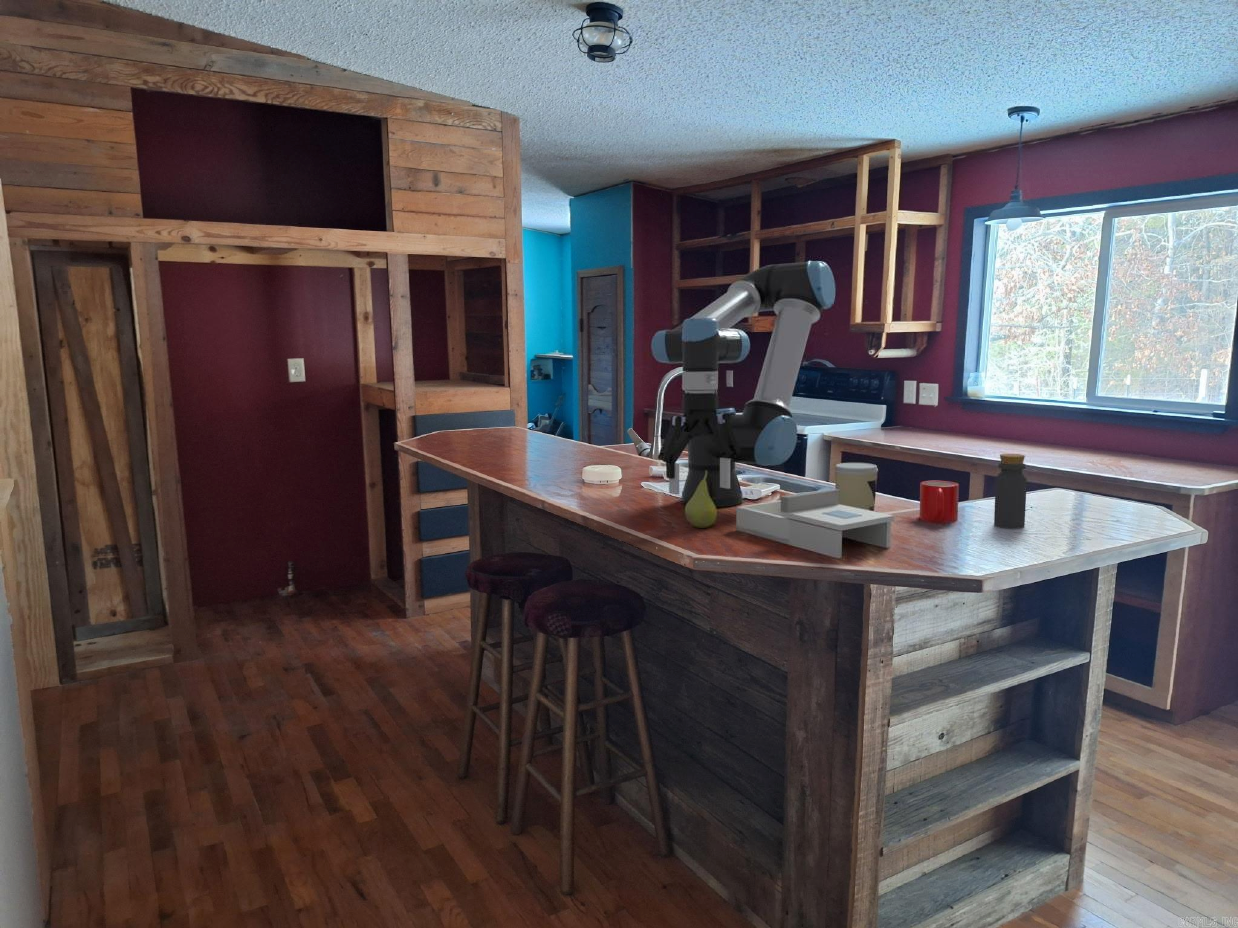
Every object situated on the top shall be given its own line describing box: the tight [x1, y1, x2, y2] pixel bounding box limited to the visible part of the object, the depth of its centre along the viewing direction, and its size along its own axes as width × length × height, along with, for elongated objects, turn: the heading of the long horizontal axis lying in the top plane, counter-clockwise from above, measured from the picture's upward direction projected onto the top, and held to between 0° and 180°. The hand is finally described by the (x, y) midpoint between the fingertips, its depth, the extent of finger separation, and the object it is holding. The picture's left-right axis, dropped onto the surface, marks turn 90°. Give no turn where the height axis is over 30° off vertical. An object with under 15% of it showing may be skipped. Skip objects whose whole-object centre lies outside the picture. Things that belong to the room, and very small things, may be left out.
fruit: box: [684, 470, 718, 529], centre depth 181 cm, size 7×8×12 cm
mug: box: [919, 480, 960, 523], centre depth 182 cm, size 8×12×8 cm, turn 164°
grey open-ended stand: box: [736, 499, 892, 559], centre depth 169 cm, size 29×14×5 cm, turn 31°
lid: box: [780, 488, 895, 531], centre depth 162 cm, size 16×14×4 cm
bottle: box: [993, 453, 1028, 529], centre depth 175 cm, size 6×6×15 cm
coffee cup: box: [833, 462, 879, 512], centre depth 185 cm, size 9×9×12 cm
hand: (700, 490), depth 180 cm, fingers open, 13 cm apart
